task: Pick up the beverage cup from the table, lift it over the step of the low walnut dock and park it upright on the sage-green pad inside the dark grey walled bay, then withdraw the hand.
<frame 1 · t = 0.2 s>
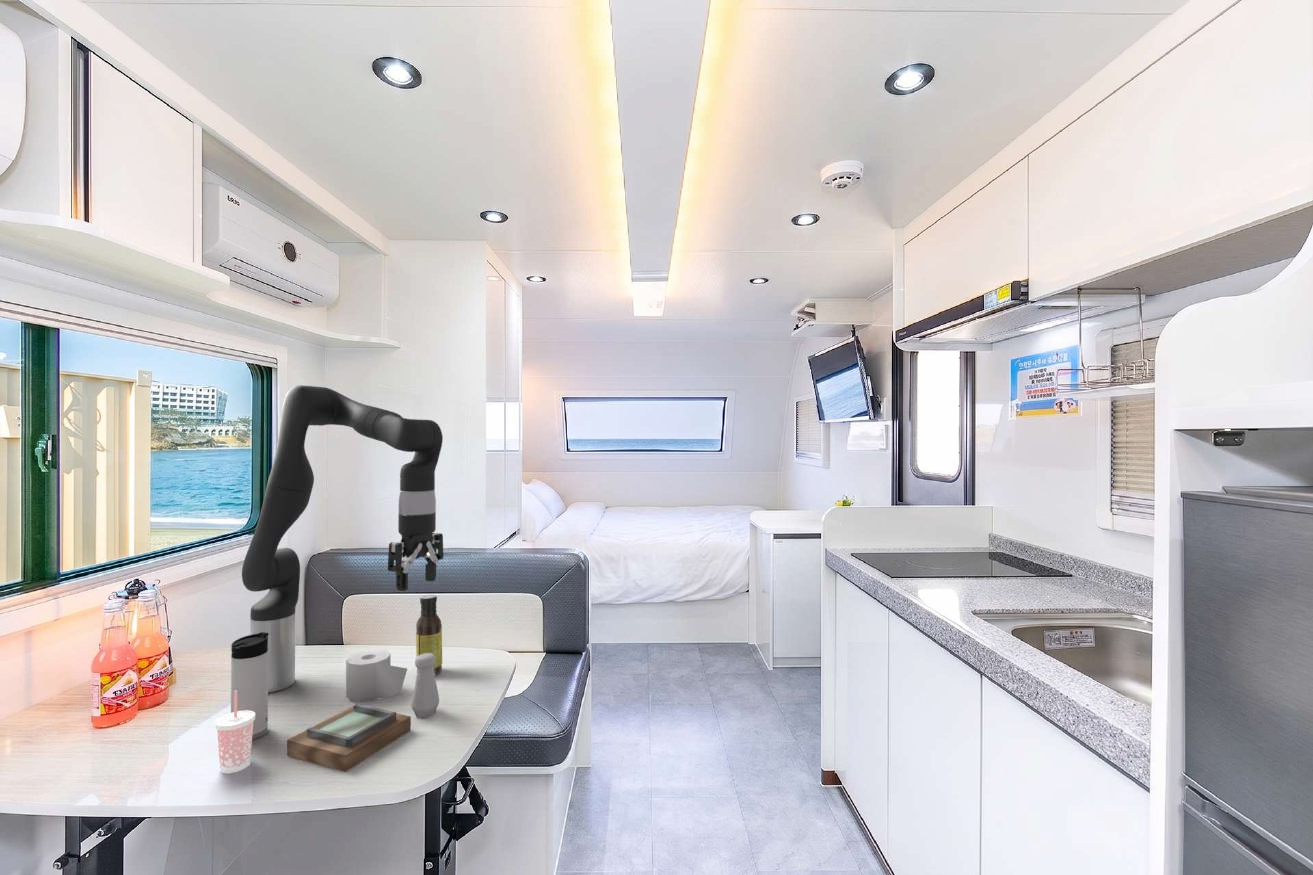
hand: (416, 585, 128), 29 cm above the table, tool pointing down, fingers open, 8 cm apart
sauce bottle: (429, 673, 152), on the table
dock: (351, 742, 117), on the table
travel mug: (250, 735, 120), on the table
beverage cup: (235, 767, 109), on the table
toilet tissue: (374, 693, 140), on the table
salt shaker: (425, 714, 130), on the table
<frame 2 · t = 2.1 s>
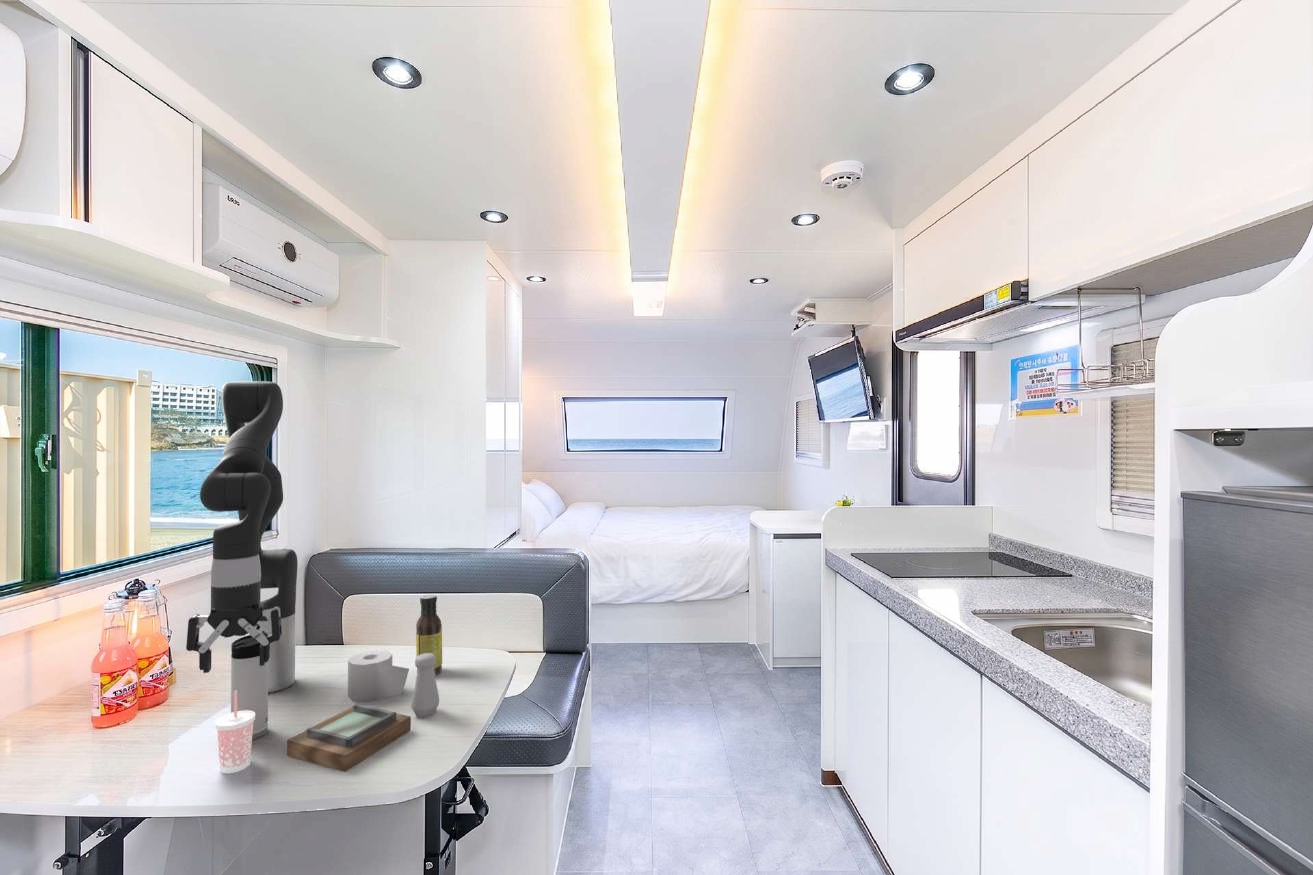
hand: (235, 667, 109), 18 cm above the table, tool pointing down, fingers open, 8 cm apart
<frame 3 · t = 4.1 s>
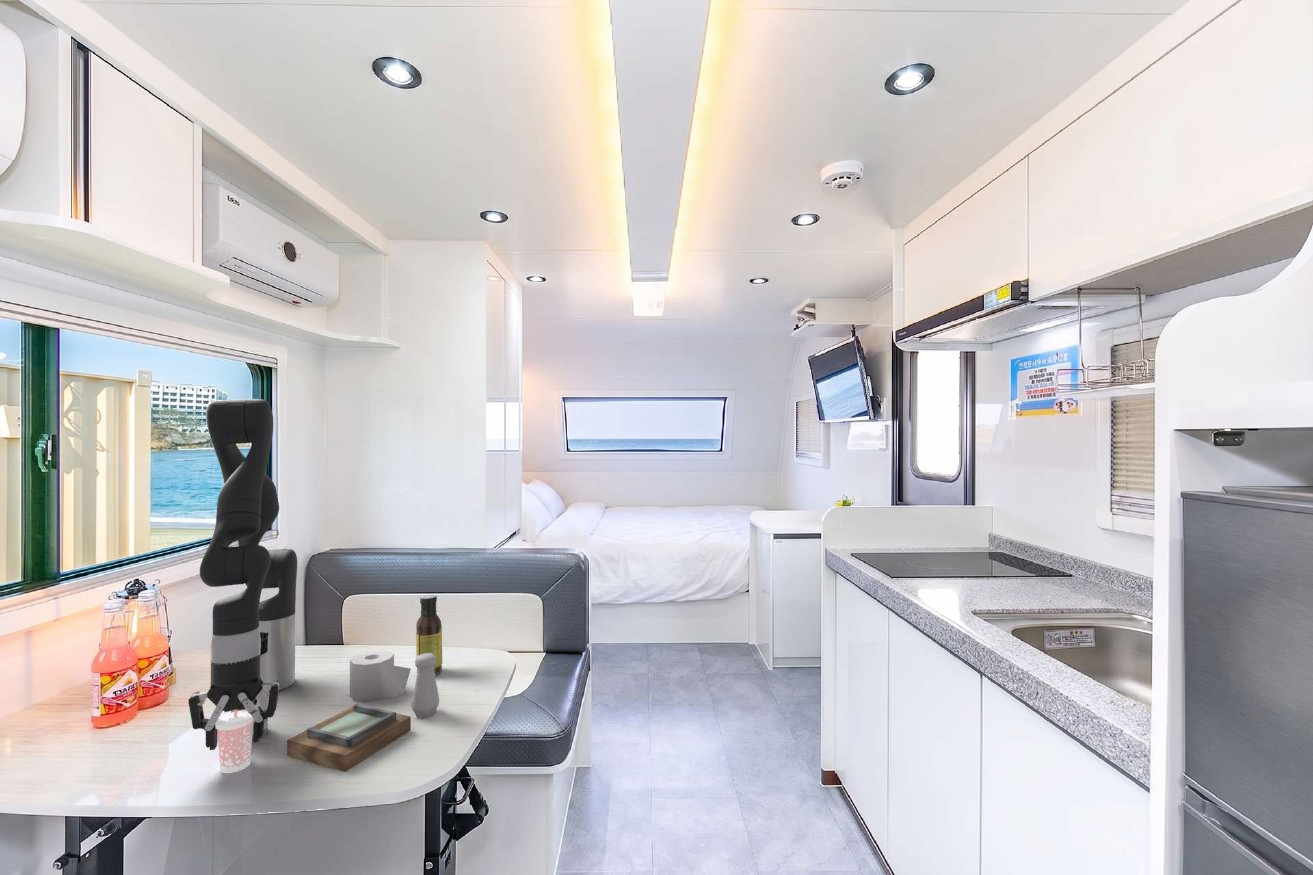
hand: (235, 744, 109), 4 cm above the table, tool pointing down, fingers closed on beverage cup, 6 cm apart
beverage cup: (235, 767, 109), on the table, touching gripper
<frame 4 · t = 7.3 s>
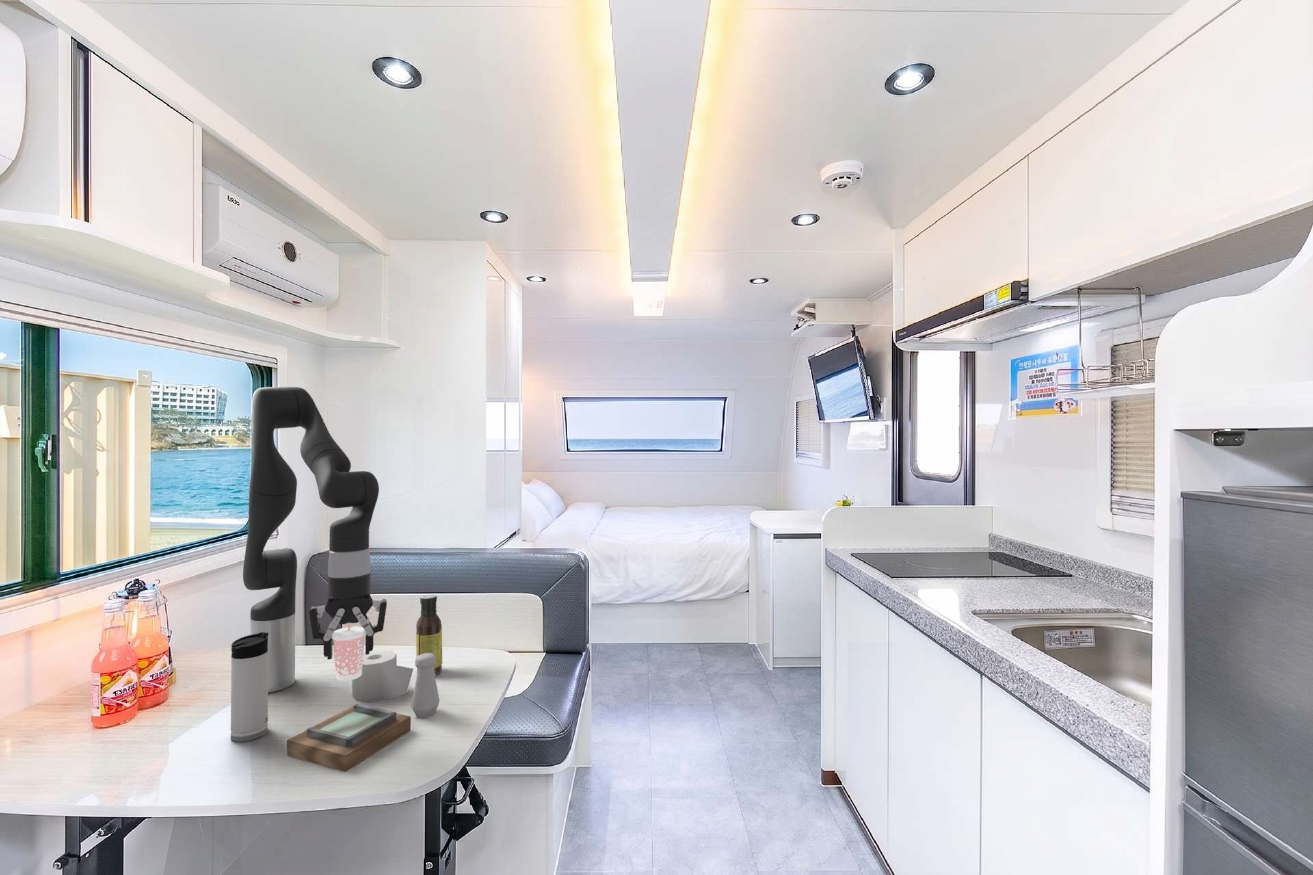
hand: (349, 655, 117), 18 cm above the table, tool pointing down, fingers closed on beverage cup, 6 cm apart
beverage cup: (348, 677, 117), point 13 cm above the table, touching gripper
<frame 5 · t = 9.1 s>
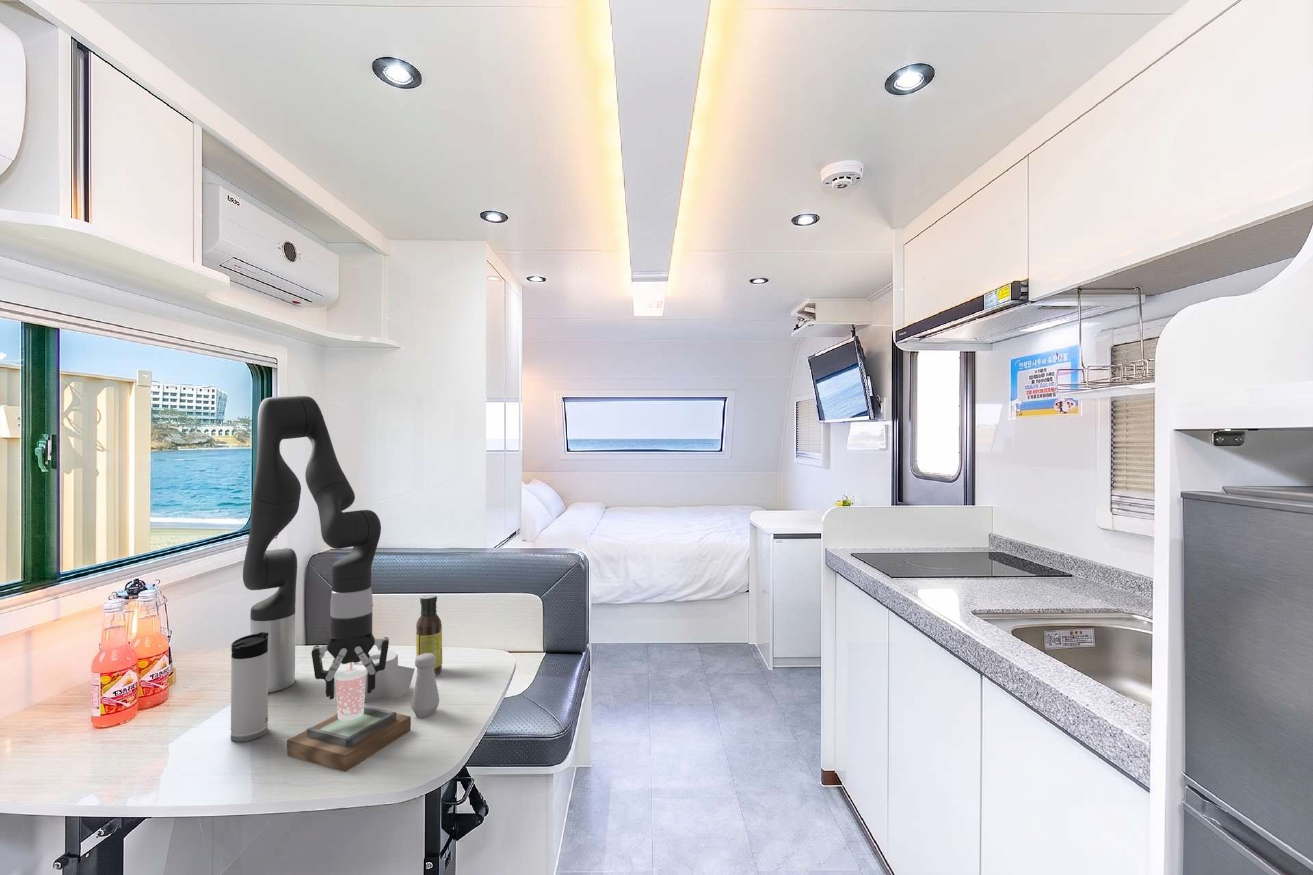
hand: (351, 694, 117), 10 cm above the table, tool pointing down, fingers closed on beverage cup, 6 cm apart
beverage cup: (350, 716, 117), point 5 cm above the table, touching gripper
when the fingers open (8 cm above the table, at t = 10.4 s): beverage cup drops 1 cm, resting on dock.
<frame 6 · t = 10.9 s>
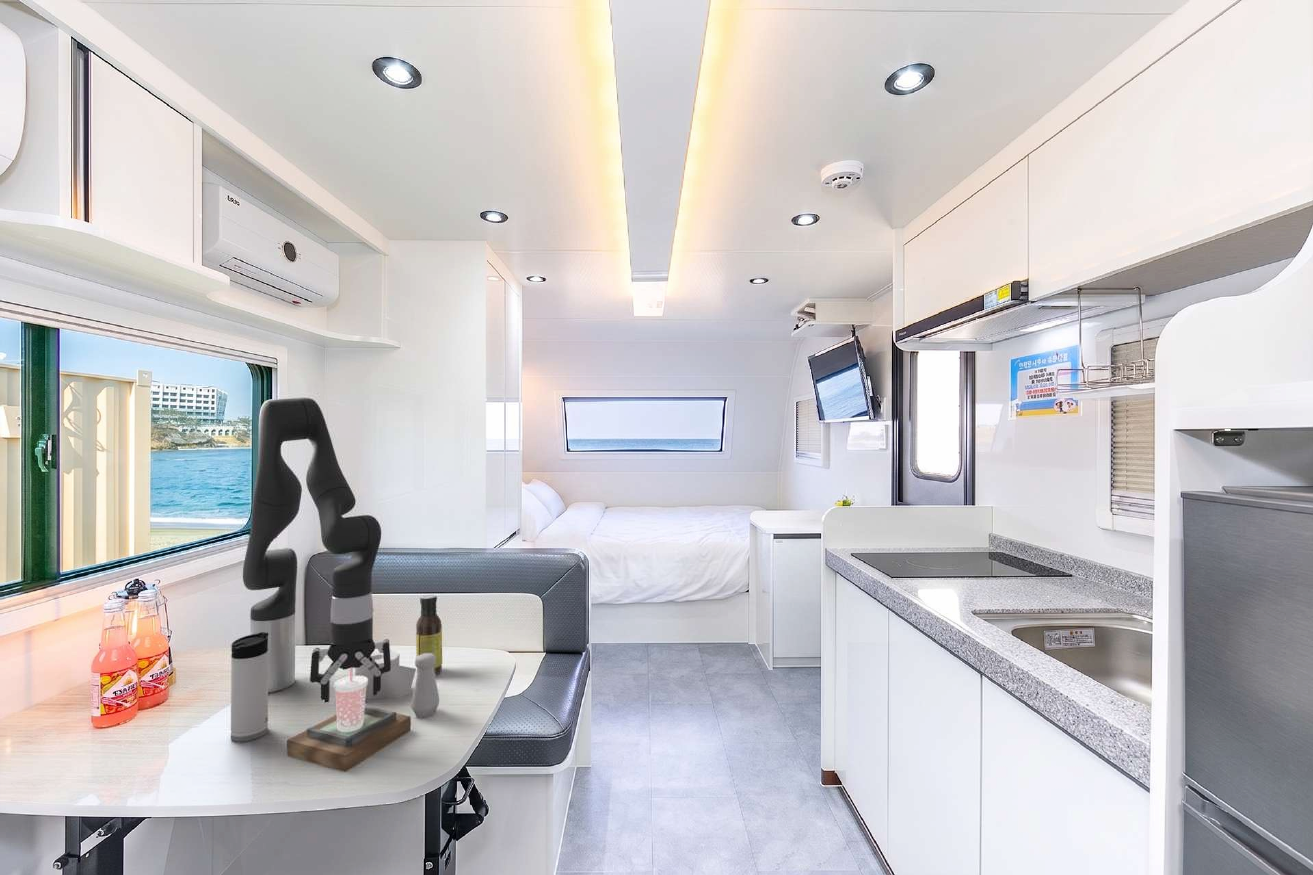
hand: (351, 697, 117), 9 cm above the table, tool pointing down, fingers open, 8 cm apart
beverage cup: (350, 727, 117), point 3 cm above the table, touching dock
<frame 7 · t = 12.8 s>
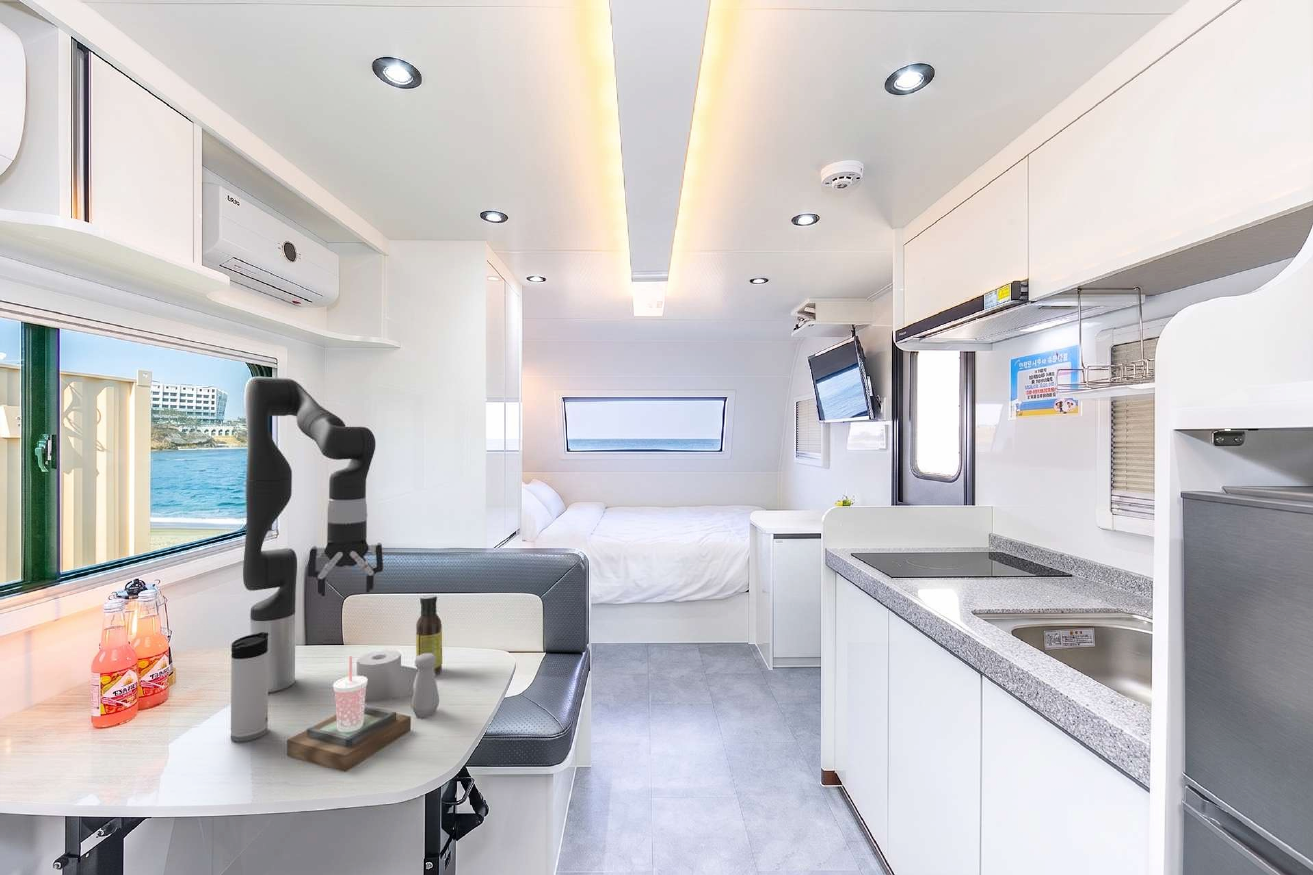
hand: (346, 593, 127), 27 cm above the table, tool pointing down, fingers open, 8 cm apart
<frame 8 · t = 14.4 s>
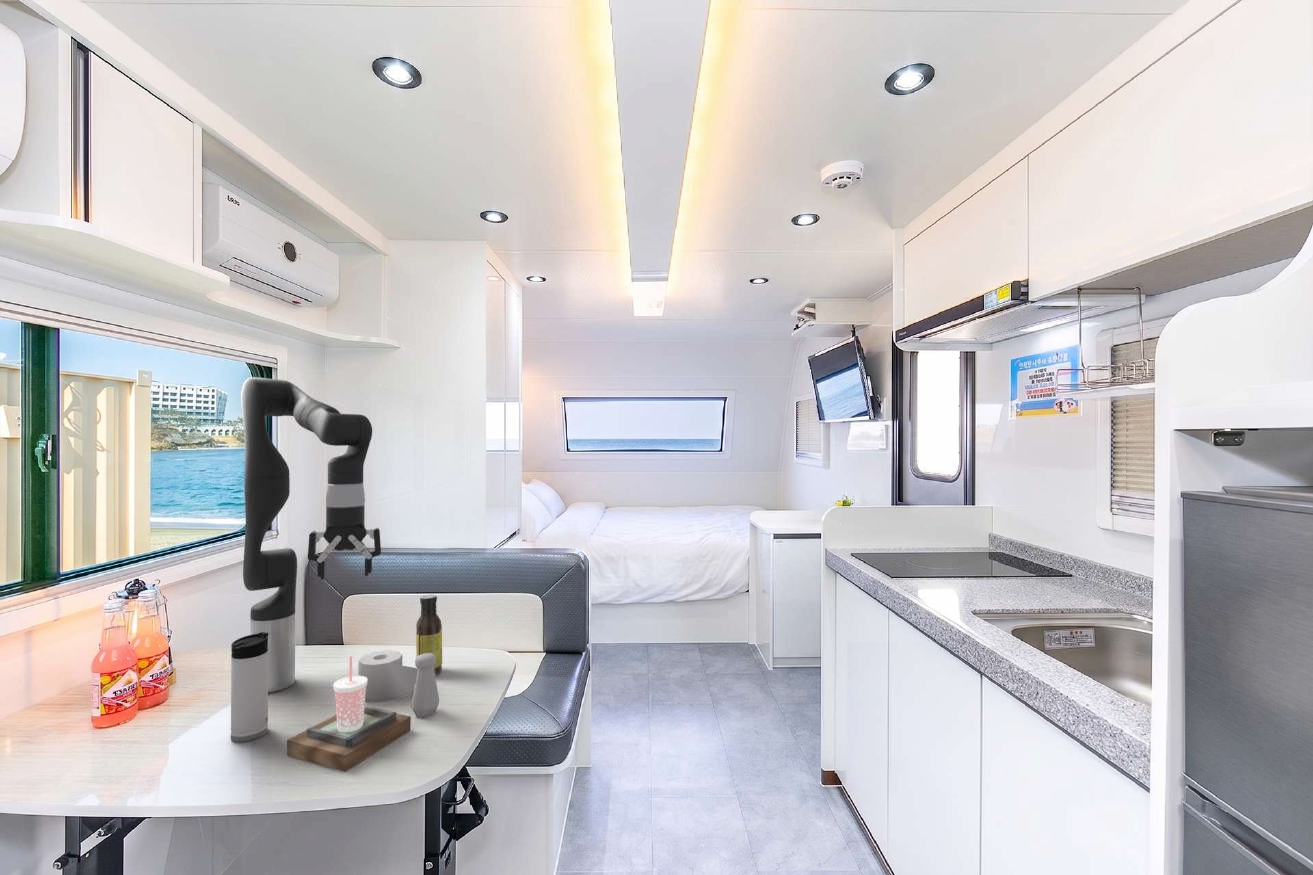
hand: (345, 577, 130), 30 cm above the table, tool pointing down, fingers open, 8 cm apart
at the end: beverage cup 0.2 cm off-centre on the dock, point 3.0 cm above the dock's base; beverage cup tilted 0°; the gripper is holding nothing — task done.
